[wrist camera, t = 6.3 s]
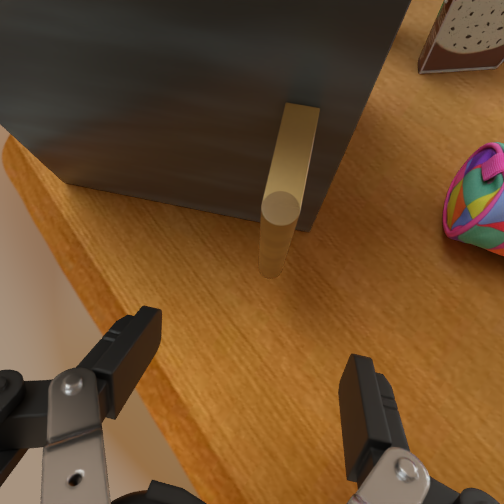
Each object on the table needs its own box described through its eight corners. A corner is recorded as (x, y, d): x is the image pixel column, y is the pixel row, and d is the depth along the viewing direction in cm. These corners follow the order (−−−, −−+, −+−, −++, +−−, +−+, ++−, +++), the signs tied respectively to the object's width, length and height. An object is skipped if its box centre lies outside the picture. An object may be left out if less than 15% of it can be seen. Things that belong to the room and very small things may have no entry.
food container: (492, 31, 40) (567, -72, 30) (508, 68, 38) (594, -30, 28) (395, 36, 40) (439, -65, 30) (406, 74, 38) (458, -22, 28)
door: (297, 300, 29) (446, 103, 6) (35, 243, 31) (-549, -62, 8) (311, 223, 31) (454, -116, 9) (67, 174, 33) (-319, -204, 11)
